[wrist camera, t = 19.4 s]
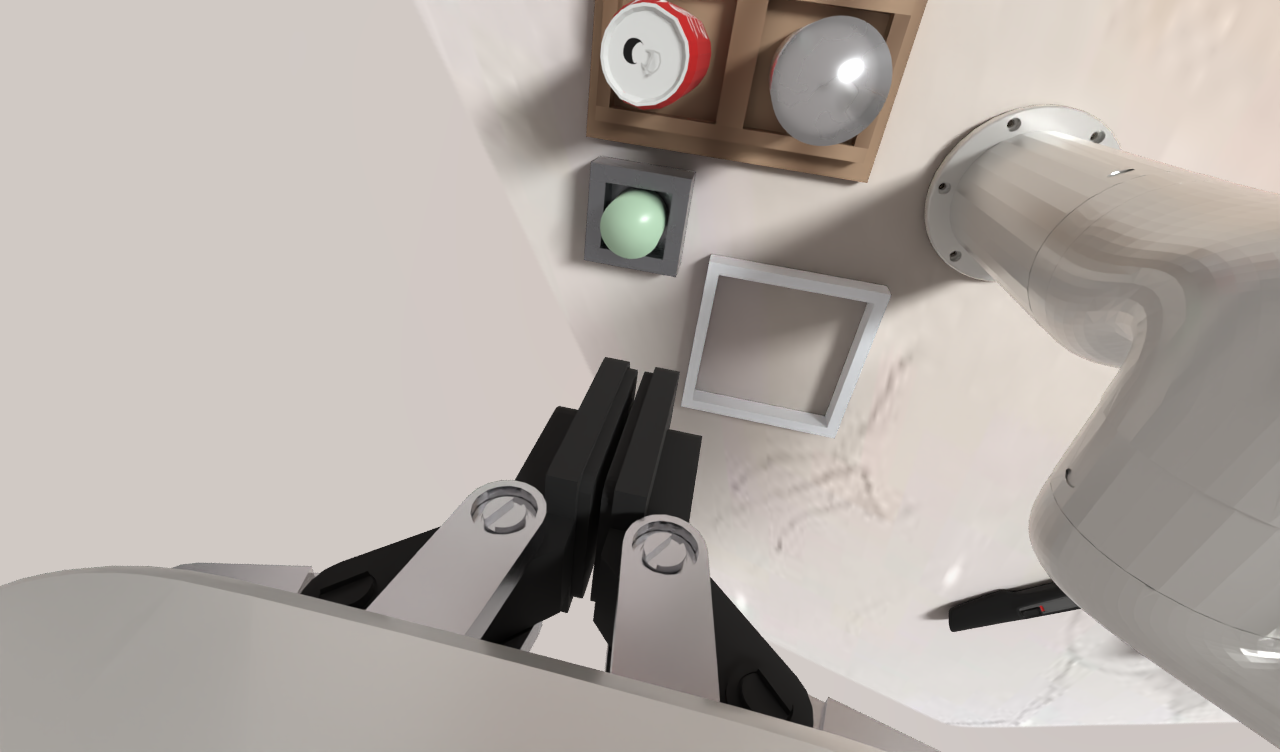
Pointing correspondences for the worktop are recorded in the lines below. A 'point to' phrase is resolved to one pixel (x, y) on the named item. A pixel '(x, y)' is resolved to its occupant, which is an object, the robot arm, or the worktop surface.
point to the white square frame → (800, 281)
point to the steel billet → (830, 80)
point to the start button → (634, 222)
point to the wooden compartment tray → (750, 86)
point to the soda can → (654, 53)
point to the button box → (623, 174)
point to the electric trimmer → (1010, 607)
